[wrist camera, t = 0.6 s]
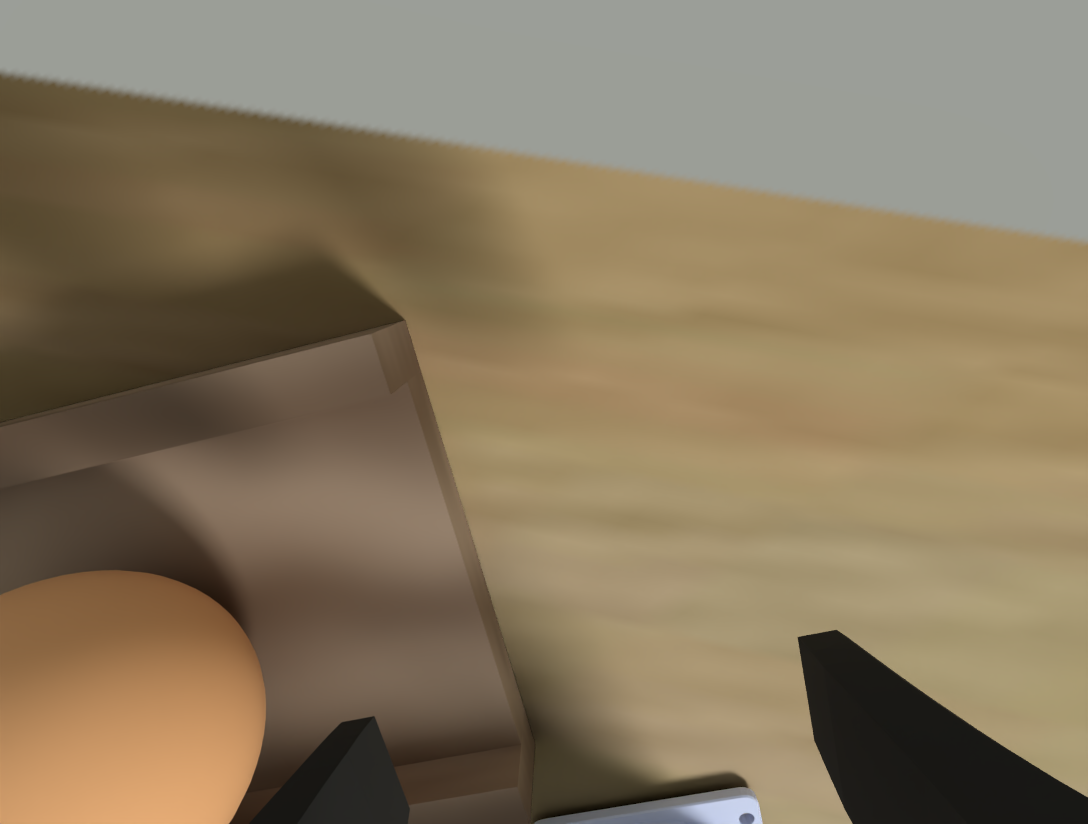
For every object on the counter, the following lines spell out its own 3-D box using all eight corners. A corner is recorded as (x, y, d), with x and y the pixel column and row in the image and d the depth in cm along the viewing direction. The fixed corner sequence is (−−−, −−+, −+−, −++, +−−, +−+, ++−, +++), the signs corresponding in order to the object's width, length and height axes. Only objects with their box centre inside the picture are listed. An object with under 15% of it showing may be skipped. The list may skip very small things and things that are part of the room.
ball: (351, 721, 18) (195, 1063, 10) (122, 763, 19) (-182, 1111, 11) (259, 490, 16) (-17, 702, 9) (8, 547, 17) (-455, 791, 9)
